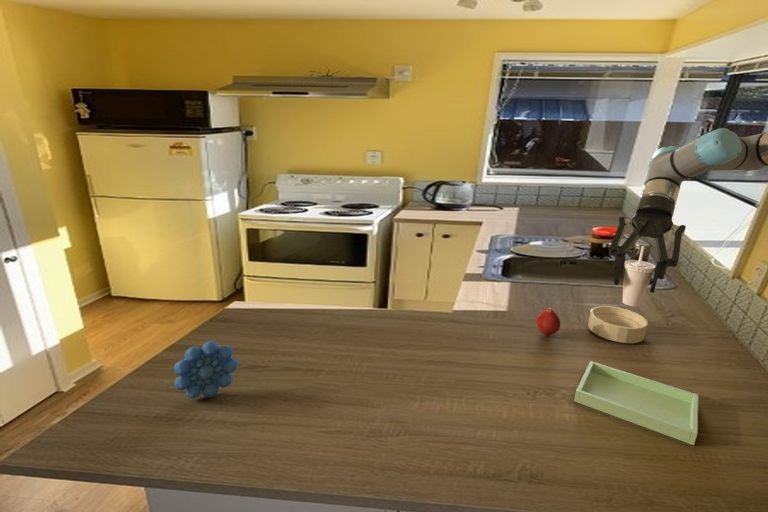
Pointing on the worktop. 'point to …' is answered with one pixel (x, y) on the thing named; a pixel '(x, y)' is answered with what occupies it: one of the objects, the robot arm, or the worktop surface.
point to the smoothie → (636, 280)
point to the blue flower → (205, 369)
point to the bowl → (617, 324)
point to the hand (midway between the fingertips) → (634, 285)
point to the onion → (548, 322)
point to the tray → (640, 401)
